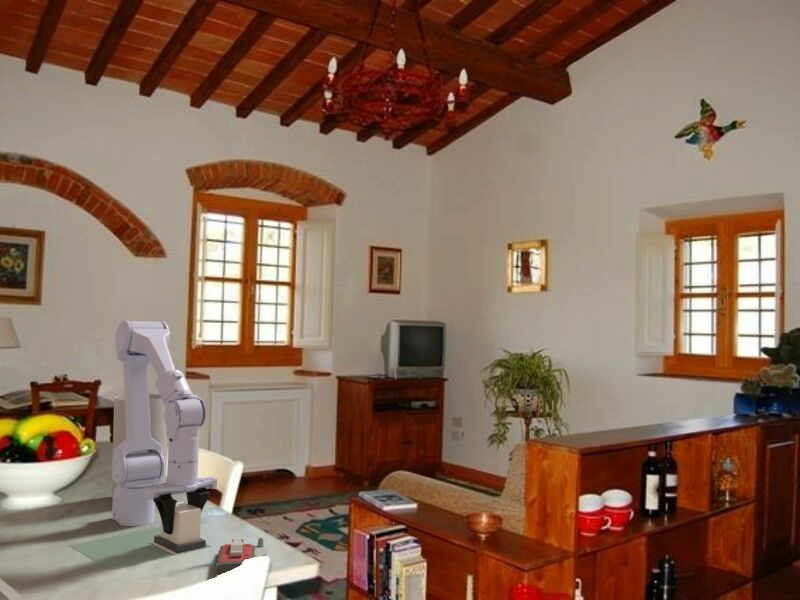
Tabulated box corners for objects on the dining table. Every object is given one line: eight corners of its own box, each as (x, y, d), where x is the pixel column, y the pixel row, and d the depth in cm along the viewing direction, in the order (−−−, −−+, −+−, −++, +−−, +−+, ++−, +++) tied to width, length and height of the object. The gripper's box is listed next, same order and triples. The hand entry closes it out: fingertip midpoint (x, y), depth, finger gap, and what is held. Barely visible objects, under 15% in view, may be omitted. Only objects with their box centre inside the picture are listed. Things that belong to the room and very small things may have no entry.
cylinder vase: (152, 506, 170) (155, 401, 170) (101, 504, 171) (104, 399, 171) (173, 492, 183) (176, 394, 183) (125, 490, 184) (128, 392, 184)
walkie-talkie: (265, 582, 125) (266, 546, 145) (266, 557, 125) (266, 524, 145) (213, 584, 124) (221, 547, 143) (214, 558, 124) (222, 525, 144)
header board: (68, 550, 138) (69, 523, 138) (165, 530, 152) (166, 505, 152) (110, 575, 125) (111, 545, 125) (211, 551, 140) (212, 524, 140)
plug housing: (160, 536, 141) (161, 505, 141) (181, 531, 144) (182, 501, 144) (178, 544, 136) (180, 513, 136) (199, 540, 139) (201, 509, 139)
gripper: (158, 468, 133) (155, 542, 132) (226, 459, 143) (223, 527, 143) (140, 462, 137) (137, 533, 137) (207, 453, 148) (204, 520, 148)
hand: (180, 530), depth 140 cm, fingers open, 5 cm apart
